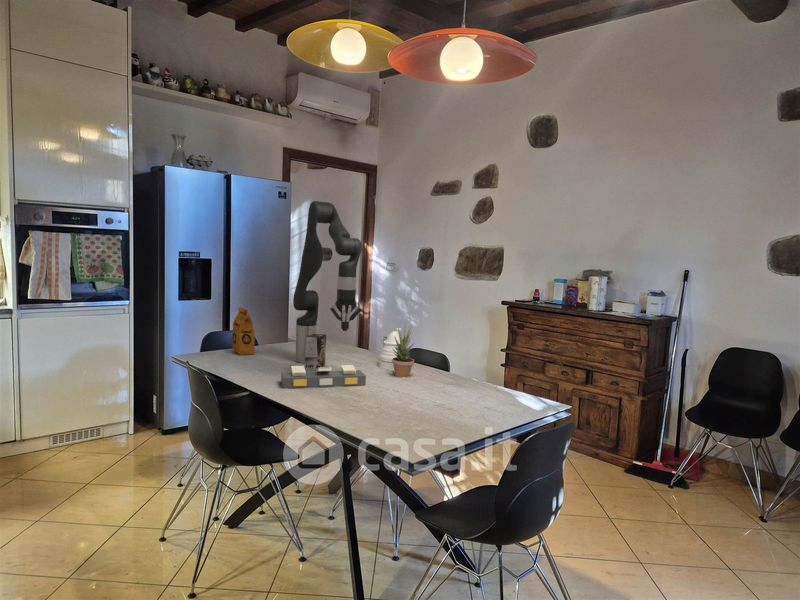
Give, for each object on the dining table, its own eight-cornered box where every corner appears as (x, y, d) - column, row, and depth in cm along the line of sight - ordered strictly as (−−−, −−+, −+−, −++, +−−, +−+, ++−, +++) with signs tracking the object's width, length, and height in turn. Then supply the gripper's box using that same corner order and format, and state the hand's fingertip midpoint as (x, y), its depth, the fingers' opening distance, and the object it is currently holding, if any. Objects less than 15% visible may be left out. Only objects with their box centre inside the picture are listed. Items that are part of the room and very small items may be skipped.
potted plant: (415, 378, 240) (418, 321, 237) (394, 378, 237) (396, 320, 235) (409, 372, 249) (412, 317, 247) (388, 373, 247) (391, 317, 244)
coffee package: (236, 356, 268) (236, 310, 266) (230, 351, 279) (231, 306, 276) (256, 354, 273) (257, 309, 270) (250, 349, 283) (251, 306, 281)
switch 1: (290, 368, 222) (291, 365, 222) (303, 368, 224) (303, 365, 223) (292, 376, 217) (293, 373, 216) (305, 375, 218) (306, 372, 218)
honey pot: (402, 363, 268) (404, 326, 266) (410, 369, 255) (412, 330, 254) (376, 364, 264) (377, 326, 262) (382, 370, 252) (384, 330, 250)
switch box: (281, 382, 224) (281, 372, 223) (359, 379, 233) (359, 370, 233) (284, 389, 214) (284, 378, 213) (365, 386, 223) (366, 376, 223)
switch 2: (316, 372, 225) (316, 369, 225) (328, 372, 227) (328, 368, 227) (318, 370, 219) (318, 367, 220) (331, 370, 221) (331, 366, 221)
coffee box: (318, 375, 238) (319, 337, 236) (304, 373, 239) (305, 336, 237) (325, 370, 246) (326, 334, 245) (311, 369, 248) (312, 333, 246)
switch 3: (340, 368, 228) (340, 364, 228) (352, 367, 230) (353, 364, 230) (343, 374, 223) (344, 371, 222) (356, 373, 224) (356, 370, 224)
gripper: (360, 287, 230) (358, 329, 233) (328, 286, 226) (326, 328, 228) (365, 289, 223) (362, 332, 225) (332, 288, 219) (330, 332, 221)
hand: (344, 330), depth 227 cm, fingers closed
